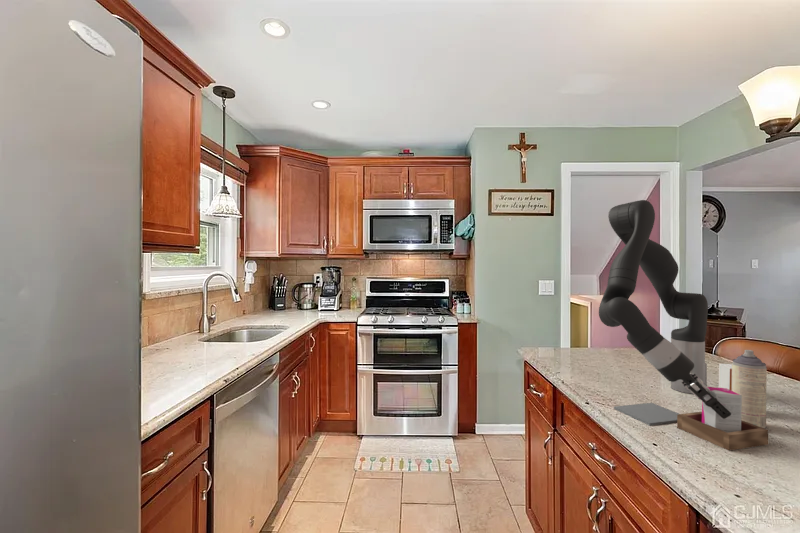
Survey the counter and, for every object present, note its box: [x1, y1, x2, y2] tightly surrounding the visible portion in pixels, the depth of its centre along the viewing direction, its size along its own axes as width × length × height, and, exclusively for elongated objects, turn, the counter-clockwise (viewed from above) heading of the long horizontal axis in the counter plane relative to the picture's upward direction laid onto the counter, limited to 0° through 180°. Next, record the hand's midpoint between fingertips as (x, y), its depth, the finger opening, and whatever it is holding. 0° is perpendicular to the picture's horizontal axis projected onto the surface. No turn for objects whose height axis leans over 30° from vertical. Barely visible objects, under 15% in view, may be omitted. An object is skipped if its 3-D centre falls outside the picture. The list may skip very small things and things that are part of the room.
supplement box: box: [701, 386, 742, 433], centre depth 93 cm, size 6×6×12 cm
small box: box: [718, 363, 732, 391], centre depth 110 cm, size 8×6×13 cm
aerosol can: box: [731, 349, 768, 429], centre depth 100 cm, size 7×7×20 cm
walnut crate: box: [676, 411, 769, 451], centre depth 93 cm, size 12×12×4 cm
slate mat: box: [613, 402, 680, 426], centre depth 107 cm, size 14×12×1 cm
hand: (722, 410), depth 93 cm, fingers open, 8 cm apart
